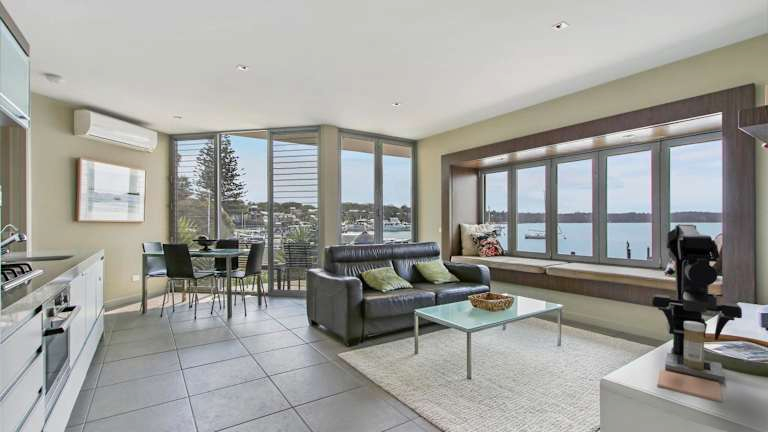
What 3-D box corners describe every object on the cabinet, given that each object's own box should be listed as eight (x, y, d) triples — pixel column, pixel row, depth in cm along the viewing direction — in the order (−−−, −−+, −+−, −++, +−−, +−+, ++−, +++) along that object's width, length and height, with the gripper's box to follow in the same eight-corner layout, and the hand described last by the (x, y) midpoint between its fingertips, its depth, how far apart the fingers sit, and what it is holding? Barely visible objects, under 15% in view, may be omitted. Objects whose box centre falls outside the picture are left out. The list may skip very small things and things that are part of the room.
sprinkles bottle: (706, 372, 103) (707, 323, 103) (700, 375, 100) (701, 325, 100) (686, 366, 106) (687, 319, 106) (679, 369, 104) (680, 321, 104)
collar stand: (667, 359, 112) (667, 352, 112) (720, 370, 104) (721, 363, 104) (665, 371, 102) (665, 364, 102) (723, 384, 95) (724, 376, 95)
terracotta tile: (660, 371, 102) (660, 369, 102) (718, 384, 95) (718, 382, 95) (657, 386, 93) (657, 383, 93) (722, 402, 85) (722, 399, 85)
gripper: (651, 279, 103) (650, 335, 103) (744, 289, 91) (743, 352, 91) (654, 275, 112) (653, 326, 112) (740, 283, 100) (738, 341, 100)
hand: (693, 336), depth 103 cm, fingers open, 9 cm apart
